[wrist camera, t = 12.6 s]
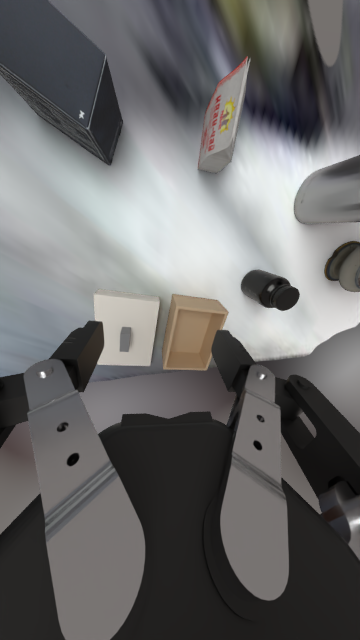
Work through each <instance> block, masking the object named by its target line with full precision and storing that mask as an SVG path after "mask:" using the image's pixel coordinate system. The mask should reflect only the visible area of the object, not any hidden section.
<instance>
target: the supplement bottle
mask: <svg viewBox="0 0 360 640" xmlns="http://www.w3.org/2000/svg"><path fill="white" fill-rule="evenodd" d="M241 288H242V291H243V293H244V294H245V295H247V296H248V297H250V298H251V299H253V300H255V301H256V302H258V303H259V304H261V305H262V306H264V307H266V308H277V309H279V310H281V311H285V310H288V309H290V308H292V307H293V306H294V305H295V304H296V303H297V301H298V299H299V295H300V294H299V291H298V289H296V288H295V287H292V286H291V285H290V283H289V281H288V280H287V279H285V278H283V277H280V276H277V275H274V274H271V273H268V272H265V271H262V270H253V271H251V272H249V273H248V274H247V275H246V276H245V277H244V279H243V281H242V284H241Z"/></svg>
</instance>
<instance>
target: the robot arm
mask: <svg viewBox="0 0 360 640" xmlns="http://www.w3.org/2000/svg"><path fill="white" fill-rule="evenodd" d="M294 210H295V215H296V217H297V219H298V220H299V221H300V222H301V223H304V224H318V223H347V222H360V155H359V156H356V157H353V158H350V159H348V160H345V161H342V162H339V163H336V164H333V165H331V166H328V167H325V168H322V169H319V170H317V171H315V172H314V173H312V174H311V175H310V176H309V177H308V178H307V179H306V180H305V181H304V182H303V184H302V185H301V187H300V189H299V191H298V193H297V196H296V200H295V207H294ZM103 348H104V330H103V323H102V321H88V322H87V324H86V325H85V326H84V328H78V329H76V330H74V331H73V332H71V333H70V335H69V336H68V337H67V338H66V339H65V340H64V342H63V343H62V344H61V345H60V346H59V348H58V349H57V350H56V351H55V352H54V353H53V355H52V356H51V357H50V358H49V359H48V360H43V361H40V362H38V363H35V364H34V365H32V366H31V367H29V368H28V369H27V370H26V371H25V373H21V374H16V375H11V376H5V377H0V448H1V447H2V445H3V443H4V442H5V441H6V439H7V437H8V436H9V434H10V433H11V431H12V430H13V428H14V427H15V425H16V424H18V423H22V422H25V421H28V422H29V428H30V434H31V439H32V445H33V450H34V457H35V463H36V468H37V475H38V480H39V486H40V492H41V493H40V494H39V495H38V496H37V497H36V498H35V499H34V500H33V501H32V502H31V503H30V504H29V505H28V507H26V508H25V510H23V512H22V513H21V514H20V515H19V516H18V517H17V518H16V519H15V520H14V521H13V522H12V523H11V524H10V525H9V526H8V527H7V528H6V529H5V530H4V531H3V532H2V533H1V534H0V640H360V433H359V432H358V431H357V430H356V429H355V428H354V427H353V426H352V425H351V424H350V423H349V422H348V420H347V419H346V418H345V417H344V416H343V415H342V414H341V413H340V412H339V411H338V410H337V409H336V408H335V407H334V406H333V405H332V404H331V403H330V402H329V400H328V399H327V398H326V397H325V396H324V395H323V394H322V393H321V392H320V391H319V390H318V389H317V388H316V387H315V386H314V385H313V384H312V383H311V382H310V381H308V380H307V379H305V378H303V377H301V376H298V375H290V376H289V378H288V379H287V380H284V379H280V378H276V377H275V376H274V375H273V373H272V372H271V371H270V370H268V369H267V368H265V367H263V366H261V365H257V364H256V363H255V361H254V360H253V359H252V357H251V356H250V355H249V353H248V352H246V349H245V348H244V347H243V345H242V344H241V343H240V341H238V340H237V339H236V338H234V337H232V335H231V334H230V332H229V331H228V330H217V331H216V334H215V337H214V340H213V344H212V347H211V353H212V356H213V358H214V360H215V363H216V365H217V367H218V369H219V372H220V374H221V376H222V379H223V381H224V383H225V385H226V388H227V390H228V391H229V392H236V396H235V399H234V402H233V406H232V409H231V412H230V416H229V419H228V422H227V425H225V424H223V423H221V422H219V421H217V420H214V419H212V417H211V413H210V412H190V413H187V414H183V415H180V416H177V417H174V418H170V419H167V418H162V417H158V416H154V415H150V414H123V416H122V421H121V422H120V423H117V424H115V425H112V426H110V427H108V428H107V429H105V430H103V431H102V432H100V433H99V434H97V431H96V429H95V427H94V425H93V423H92V421H91V418H90V416H89V414H88V412H87V410H86V408H85V405H84V403H83V401H82V399H81V397H80V394H79V392H84V390H85V388H86V386H87V384H88V382H89V379H90V377H91V375H92V373H93V371H94V369H95V366H96V364H97V362H98V360H99V358H100V355H101V353H102V351H103ZM302 412H304V413H305V414H306V416H307V417H308V418H309V420H310V421H311V422H312V424H313V425H314V427H315V428H316V432H317V435H316V437H315V438H314V437H313V435H312V434H311V433H310V431H309V430H308V428H307V427H306V426H305V424H304V423H303V421H302V420H301V418H300V417H299V415H300V414H301V413H302ZM281 433H282V435H283V437H284V439H285V440H286V442H287V444H288V446H289V448H290V450H291V451H292V453H293V455H294V457H295V458H296V460H297V462H298V464H299V466H300V467H301V469H302V471H303V473H304V475H305V476H306V478H307V480H308V482H309V483H310V485H311V487H312V489H313V491H314V492H315V494H316V496H317V498H318V500H319V506H320V509H321V512H322V513H321V514H318V513H317V512H316V511H315V510H314V509H313V508H312V507H311V506H310V505H309V504H308V503H307V502H306V501H305V500H304V499H303V498H302V497H301V496H300V495H299V494H298V493H297V492H296V491H295V490H294V489H293V488H292V487H291V486H290V485H289V484H288V483H287V482H286V481H285V480H283V478H281Z"/></svg>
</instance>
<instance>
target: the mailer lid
mask: <svg viewBox="0 0 360 640" xmlns="http://www.w3.org/2000/svg"><path fill="white" fill-rule="evenodd" d="M159 304H160V300H159V297H155V296H148V295H140V294H133V293H125V292H118V291H110V290H103V289H98V290H97V291H96V292H95V293H94V309H95V321H102V323H103V330H104V348H103V351H102V353H101V355H100V358H99V360H98V362H97V364H98V365H129V366H150V363H151V357H152V350H153V343H154V337H155V330H156V324H157V317H158V310H159Z"/></svg>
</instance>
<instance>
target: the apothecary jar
mask: <svg viewBox="0 0 360 640" xmlns="http://www.w3.org/2000/svg"><path fill="white" fill-rule="evenodd" d="M325 276H326V278H327V279H328V280H331V281H338V280H339V282H340V285H341V286H342V287H343V288H344V289H345V290H347V291H351V292H360V243H359V242H357V241H351V242H348V243H345V244H343V245H342V246H340V247H339V248H338V249H336V250H335V252H334V254H333V256H332V257H331V258H329V259H328V261H327V263H326V266H325Z"/></svg>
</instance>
